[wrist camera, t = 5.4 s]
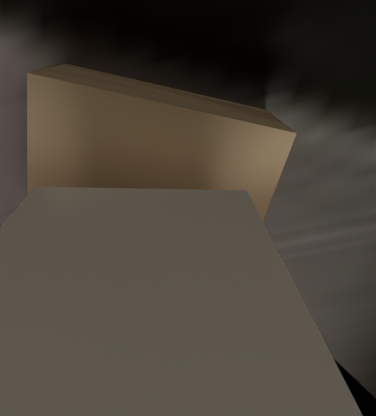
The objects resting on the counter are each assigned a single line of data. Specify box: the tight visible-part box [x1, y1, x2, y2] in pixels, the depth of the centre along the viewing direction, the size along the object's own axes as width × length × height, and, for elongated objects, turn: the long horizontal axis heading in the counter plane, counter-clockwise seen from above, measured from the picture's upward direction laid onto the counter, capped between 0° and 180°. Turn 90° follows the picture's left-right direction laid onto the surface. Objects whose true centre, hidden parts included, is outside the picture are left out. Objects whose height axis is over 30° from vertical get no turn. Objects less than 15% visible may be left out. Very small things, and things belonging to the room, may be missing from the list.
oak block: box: [27, 63, 297, 221], centre depth 13 cm, size 8×8×4 cm
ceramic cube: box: [0, 187, 363, 416], centre depth 6 cm, size 5×5×6 cm
